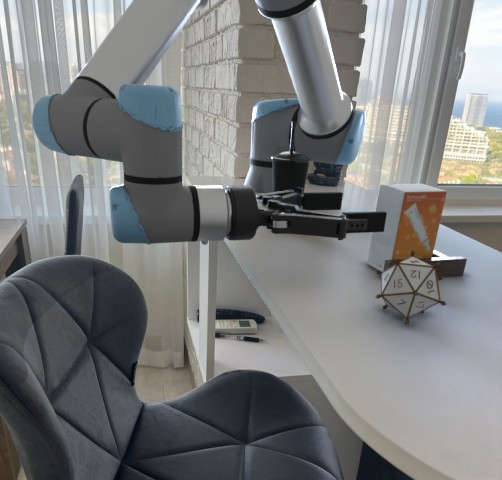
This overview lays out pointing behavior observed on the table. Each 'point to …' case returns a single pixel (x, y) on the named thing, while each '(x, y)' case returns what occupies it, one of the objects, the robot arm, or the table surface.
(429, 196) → the small box
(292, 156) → the drinking cup
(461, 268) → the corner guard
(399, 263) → the game die
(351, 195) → the table surface
